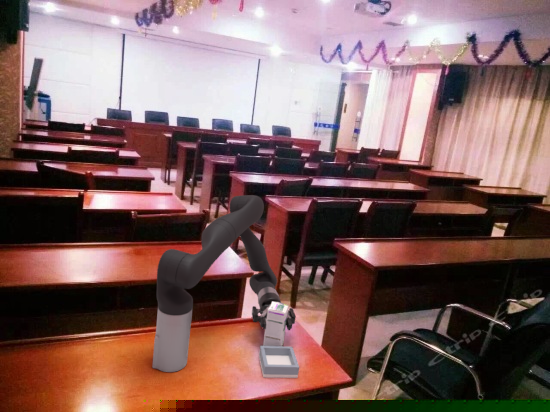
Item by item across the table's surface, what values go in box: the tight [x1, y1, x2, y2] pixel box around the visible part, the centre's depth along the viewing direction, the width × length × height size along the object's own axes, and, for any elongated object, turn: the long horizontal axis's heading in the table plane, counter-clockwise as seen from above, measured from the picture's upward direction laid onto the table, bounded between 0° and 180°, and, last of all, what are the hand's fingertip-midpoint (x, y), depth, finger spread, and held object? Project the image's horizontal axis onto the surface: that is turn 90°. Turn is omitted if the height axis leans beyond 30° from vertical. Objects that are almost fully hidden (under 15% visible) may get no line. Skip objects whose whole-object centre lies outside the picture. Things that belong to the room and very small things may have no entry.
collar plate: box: [258, 345, 300, 379], centre depth 118 cm, size 10×10×4 cm
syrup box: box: [262, 301, 289, 346], centre depth 126 cm, size 6×6×14 cm
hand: (277, 327), depth 124 cm, fingers closed on syrup box, 7 cm apart
